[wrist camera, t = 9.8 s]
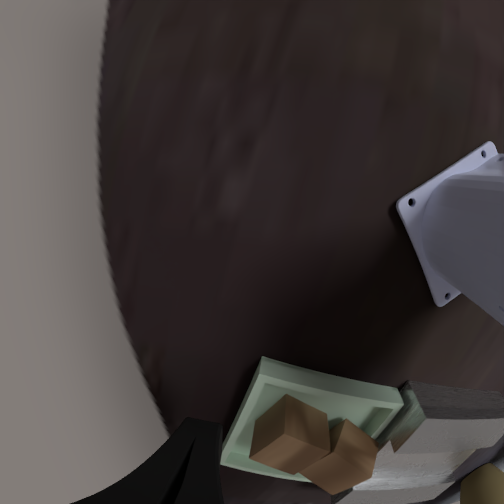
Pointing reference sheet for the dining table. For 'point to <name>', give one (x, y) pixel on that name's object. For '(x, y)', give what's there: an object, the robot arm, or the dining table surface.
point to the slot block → (428, 443)
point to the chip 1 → (290, 436)
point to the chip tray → (314, 394)
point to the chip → (344, 459)
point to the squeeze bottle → (483, 486)
